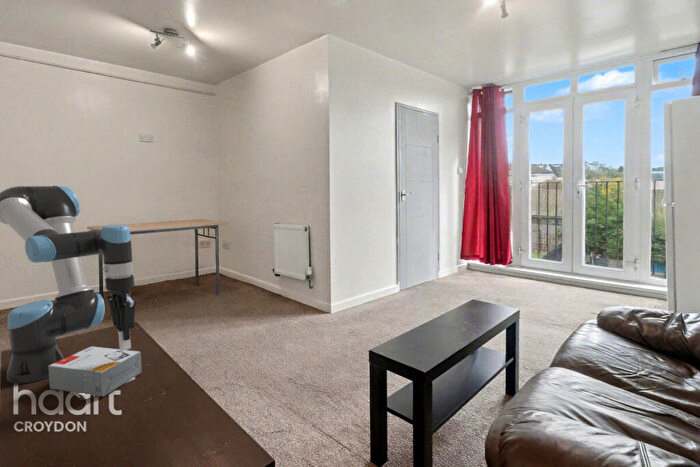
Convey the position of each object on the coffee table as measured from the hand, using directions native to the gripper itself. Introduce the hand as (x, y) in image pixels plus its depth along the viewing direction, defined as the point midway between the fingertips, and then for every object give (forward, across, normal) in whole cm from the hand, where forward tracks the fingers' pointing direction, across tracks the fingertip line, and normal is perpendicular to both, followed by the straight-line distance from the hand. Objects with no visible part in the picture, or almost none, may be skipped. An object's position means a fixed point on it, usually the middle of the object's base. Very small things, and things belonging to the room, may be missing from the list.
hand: (125, 349), depth 119 cm
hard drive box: (+7, +1, -1) cm, 7 cm away
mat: (+11, -8, -5) cm, 15 cm away
